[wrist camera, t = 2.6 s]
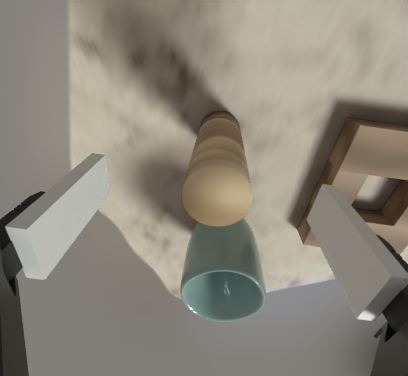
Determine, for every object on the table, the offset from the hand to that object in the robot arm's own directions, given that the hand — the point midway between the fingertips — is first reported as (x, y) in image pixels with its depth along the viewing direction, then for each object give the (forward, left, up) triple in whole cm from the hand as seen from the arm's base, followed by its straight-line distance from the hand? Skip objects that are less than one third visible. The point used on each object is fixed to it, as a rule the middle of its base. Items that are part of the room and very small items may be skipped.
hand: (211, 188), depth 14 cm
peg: (0, 0, -11) cm, 11 cm away
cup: (+12, +3, -11) cm, 16 cm away
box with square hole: (+4, +17, -11) cm, 21 cm away
